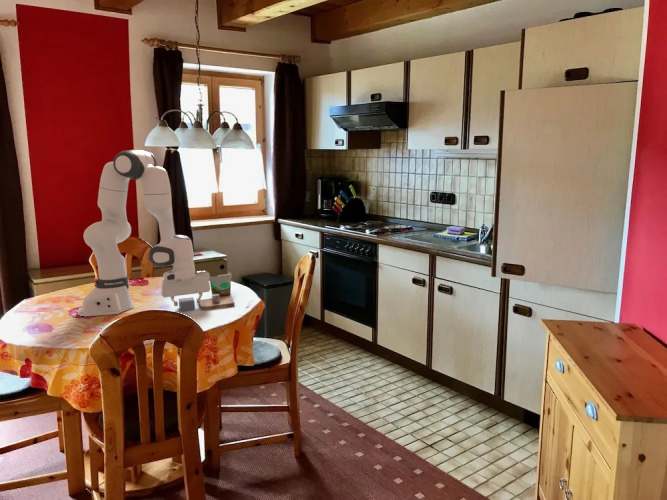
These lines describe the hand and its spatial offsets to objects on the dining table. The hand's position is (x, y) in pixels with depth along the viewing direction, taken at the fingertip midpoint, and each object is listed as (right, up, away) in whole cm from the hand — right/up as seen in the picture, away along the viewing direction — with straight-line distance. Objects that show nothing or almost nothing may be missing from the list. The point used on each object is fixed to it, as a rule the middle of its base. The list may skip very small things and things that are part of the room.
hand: (187, 304), depth 231 cm
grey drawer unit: (0, -2, +1) cm, 2 cm away
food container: (+12, +2, +20) cm, 24 cm away
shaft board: (+11, -1, +5) cm, 12 cm away
